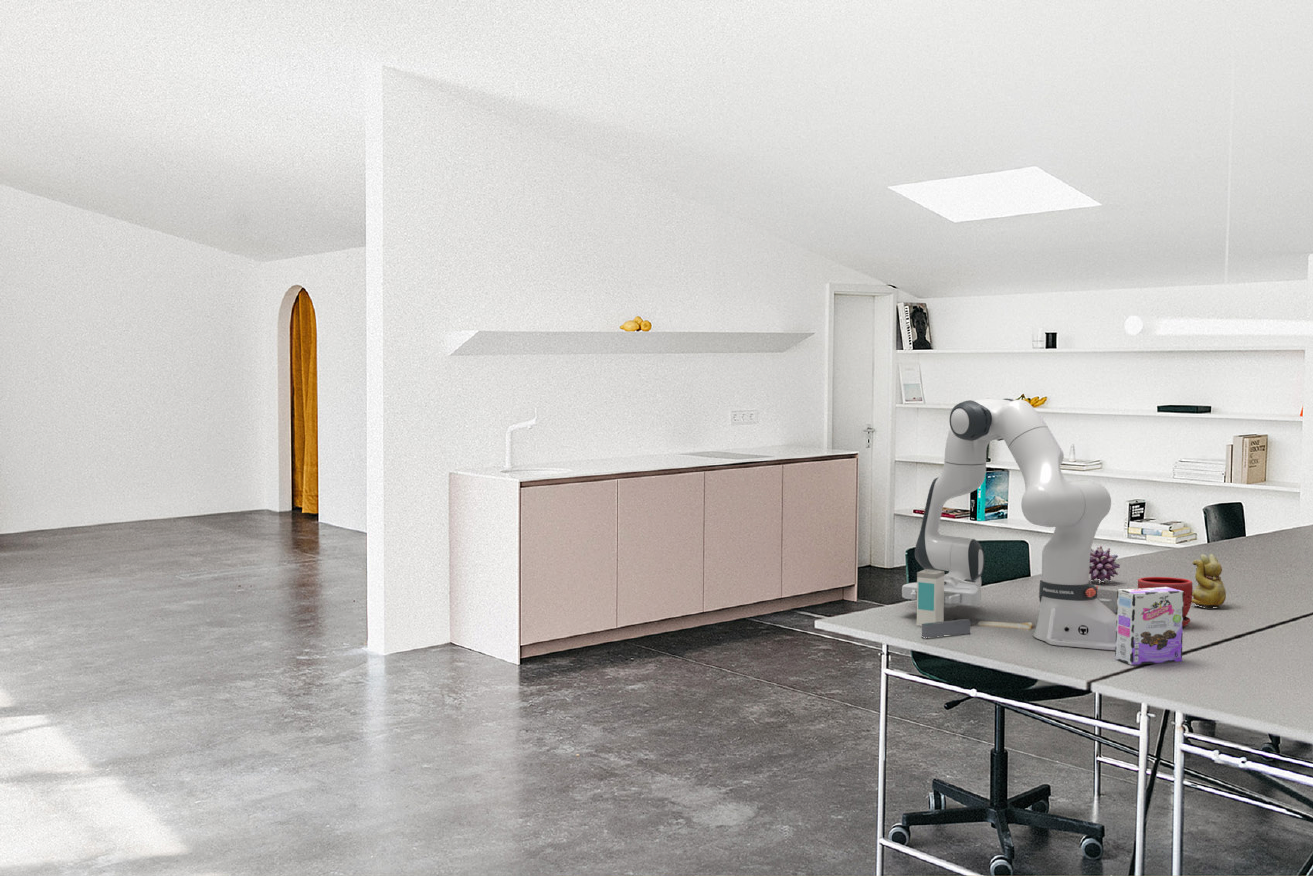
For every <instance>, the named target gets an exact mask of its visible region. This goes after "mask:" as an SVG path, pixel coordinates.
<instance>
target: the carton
mask: <svg viewBox="0 0 1313 876" xmlns="http://www.w3.org/2000/svg"><path fill="white" fill-rule="evenodd" d="M945 571H946V570H939V569H938V570H934V569H923V570H920V571H917V572H916V583H917V600H916V626H917V625H920V626H919V627H921V626H922V624H925V623H934V622H943V621H944V620H945V619H944V617H945V616H944V615H945V614H944V613H945V612H944V611H945V610H944V609H945V607H944V575H945Z"/></svg>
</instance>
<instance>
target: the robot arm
mask: <svg viewBox="0 0 1313 876" xmlns="http://www.w3.org/2000/svg"><path fill="white" fill-rule="evenodd" d="M949 426H950V428H949V429H948V433H947V438H946V442H945V450H944V462H943V463H944V464H943V468H942V471H941V472H940V475H939V476H938V477H936V478H934V479H933V480H932V482H931V485H930V487H929V490H928V495H927V498H926V503H925V507H924V512H923V515H922V522H921V526H920V530H919V534H918V538H917V540H916V543H915V547H914V558H915V560H916V562H917V563H918V564H919V565H920V566H921V567H922V568H923V570H925V569H928V570H938V571H947V572H948V573H946V574H944V608H948V609H951V608H955V607H956V608H958V607H980V605H981V597H982V596H981V595H982V592H981V591H982V588H981V587H982V577H981V576H982V575H983V572H984V568H985V563H986V562H985V561H986V558H985V551H984V549H983V548H982V546H981V544H980V543H979V541H978V540H977V539H975V538H968V537H961V536H953V535H952V536H951V535H943V534H940V533H939V528H940V527H939V526H940V523H941V518H942V512H943V508H944V506H945V504H946V502H947V501H949V500H951V499H954V498H957V497H961V496H964V495H965V496H966V495H967V494H970V493H973V492H974V491H977V490H978V489H979V488H980V486H981V485H983V483H984V482H985V478H986V472H987V448H988V445H989V444H990V443H991V442H992V441H998V442H999V441H1003V440H1004V442H1005V445H1006V446H1007V448H1008V451H1010V453H1011V455H1012V457H1013V458H1014V460H1015V463H1016V465H1017V466H1018V468H1019V470H1020V472H1021V474H1022V477H1023V481H1024V486H1025V489H1024V490H1025V491H1024V493H1023V495H1022V498H1021V502H1020V503H1021V504H1020V505H1021V512H1022V514H1023V516H1024V518H1025V519H1026V520H1027V521H1028V522H1029V523H1030V524H1033V525H1035V526H1040V527H1045V528H1054V531H1053V534H1052V536H1051V537H1050V539H1049V540H1048V542H1046V544H1045V545H1044V546H1043V549H1042V552H1041V579H1040V580H1039V586H1038V599H1039V603H1040V604H1039V611H1038V612H1039V613H1038V618H1037V621H1036V627H1035V630H1034V633H1033V637H1034V638H1035V639H1038V640H1041V641H1043V642H1045V643H1047V644H1049V645H1052V646H1060V647H1061V646H1062V647H1072V648H1073V647H1075V648H1086V649H1093V650H1094V649H1095V650H1106V651H1107V650H1108V651H1115V647H1116V617H1117V613H1115V612H1113V611H1112V610H1111V609H1110V608H1108V606H1106V605H1105V604H1104V603H1102V602H1101V601H1100V600H1099V599H1097V598H1098V591H1099V586H1098V585H1096V586H1095V585H1094V584H1093V583H1091V581H1090V574H1089V566H1090V552H1091V549H1092V546H1093V542H1094V540H1095V537H1096V533H1097V531H1098V528H1099V526H1100V524H1101V522H1102V521H1103V520H1104V518H1106V516H1107V515H1108V514H1109V513H1110V511H1111V508H1112V498H1111V494H1110V493H1109V491H1108V489H1107V488H1106V487H1105V486H1104V485H1102V484H1101V483H1097V482H1095V481H1091V480H1087V479H1086V480H1083V479H1082V480H1078V479H1077V480H1067V479H1066V478H1065V477H1064V475H1063V472H1062V470H1061V469H1062V468H1061V465H1062V463H1063V461H1064V455H1065V454H1064V451H1063V450H1062V448H1061V446H1060V444H1059V443H1058V441H1057V439H1056V438H1055V437H1054V436H1055V435H1054V434H1053V432H1052V431H1051V429H1050V428H1049V426H1048V425H1047V423H1046V422H1045V420H1044V418H1043V417H1042V416H1041V415H1040V414H1039V412H1038V411H1037V409H1036V408H1035V407H1034V406H1032V405H1031V403H1029V402H1028V401H1026V400H1023V399H1012V398H1001V399H1000V398H980V399H974V400H964V401H961V402H959V403H957V404H955V405H954V406H953V408H952V409H951V411H950V413H949ZM901 596H902V598H903V599H907V600H913V601H917V582H909V583H906V584H903V585H902V587H901Z"/></svg>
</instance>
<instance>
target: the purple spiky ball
mask: <svg viewBox="0 0 1313 876" xmlns="http://www.w3.org/2000/svg"><path fill="white" fill-rule="evenodd" d="M1110 552H1111V548H1107V550H1105V551H1104V548H1103V546H1102V545H1100V546H1099V547H1098V546H1097V547H1096V549H1095V550H1094V549H1092V548H1091V552H1090V566H1089V575H1090V580H1093V581H1094V580H1096V579H1100V580H1101V581H1104V582H1105V579H1106V580H1107V581H1109V580H1112V578H1111V577H1113V578H1115V575H1117V576H1118V575H1119V573H1118V572H1117V570H1116V569H1120V567H1121V564H1120V563H1117V562H1116V560H1117V558H1118V557H1119V555H1118V554H1111V553H1110ZM1110 554H1111V555H1110Z"/></svg>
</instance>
